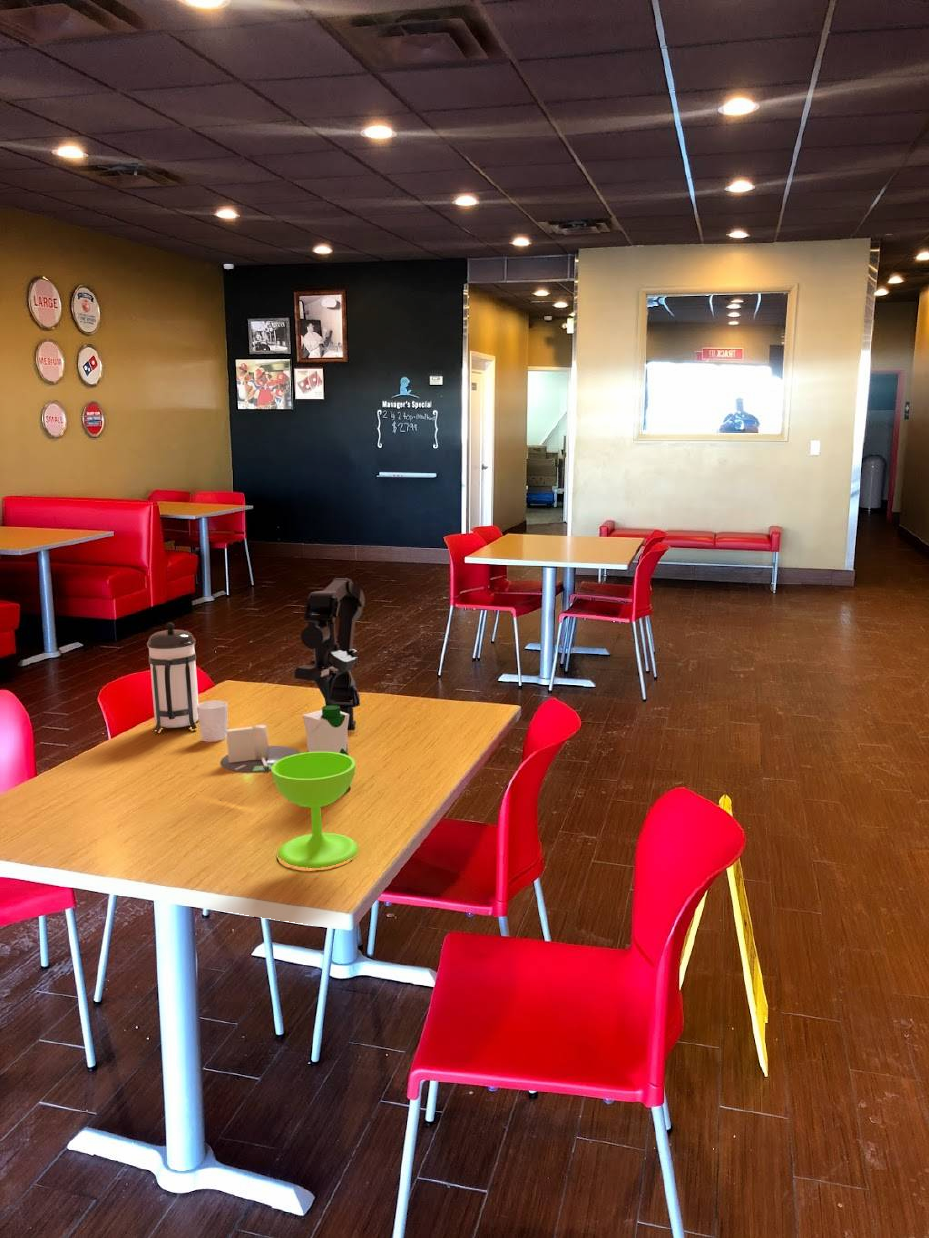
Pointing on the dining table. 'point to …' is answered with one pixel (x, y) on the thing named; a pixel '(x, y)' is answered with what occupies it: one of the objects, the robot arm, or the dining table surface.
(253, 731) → the peg key
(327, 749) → the milk carton
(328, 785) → the wineglass
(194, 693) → the coffee press
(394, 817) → the dining table surface
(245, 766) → the tuner plate
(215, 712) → the white cup
